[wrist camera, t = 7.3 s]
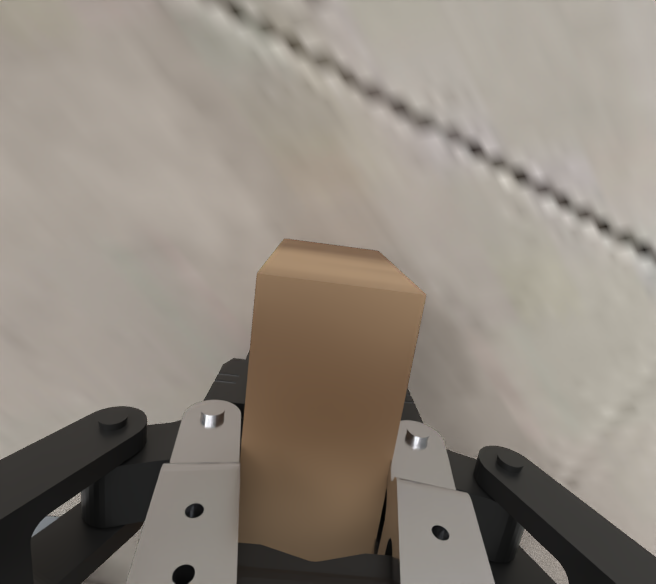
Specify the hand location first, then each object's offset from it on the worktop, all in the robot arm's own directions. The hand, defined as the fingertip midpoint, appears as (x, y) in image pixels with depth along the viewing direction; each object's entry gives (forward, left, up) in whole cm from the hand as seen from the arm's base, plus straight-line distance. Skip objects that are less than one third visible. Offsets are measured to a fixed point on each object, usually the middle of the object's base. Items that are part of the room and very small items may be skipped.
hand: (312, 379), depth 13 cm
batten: (+5, 0, 0) cm, 5 cm away
